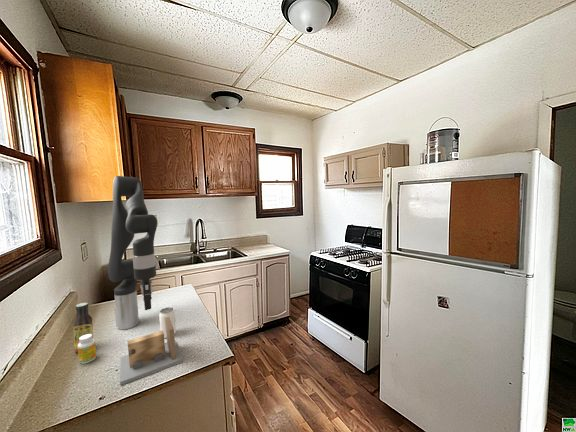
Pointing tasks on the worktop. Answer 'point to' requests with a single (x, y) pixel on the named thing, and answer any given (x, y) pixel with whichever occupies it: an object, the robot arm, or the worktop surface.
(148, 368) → the grey and brown stand
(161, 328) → the can
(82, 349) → the supplement bottle
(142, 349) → the long tan wooden block
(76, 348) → the sauce bottle
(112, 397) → the worktop surface
